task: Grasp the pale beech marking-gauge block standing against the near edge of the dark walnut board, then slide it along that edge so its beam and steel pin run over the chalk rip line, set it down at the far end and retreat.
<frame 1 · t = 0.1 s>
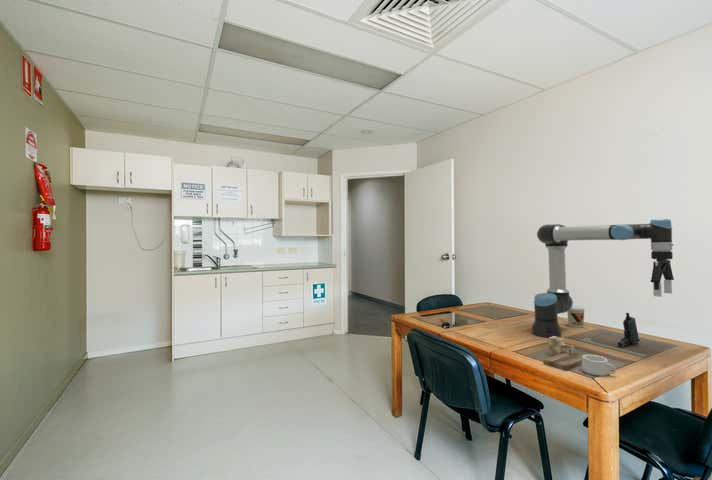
hand: (662, 294, 159), 28 cm above the table, fingers open, 13 cm apart
mug: (598, 373, 139), on the table
board: (566, 362, 151), on the table
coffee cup: (576, 326, 208), on the table
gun: (628, 345, 171), on the table
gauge: (557, 354, 161), on the table
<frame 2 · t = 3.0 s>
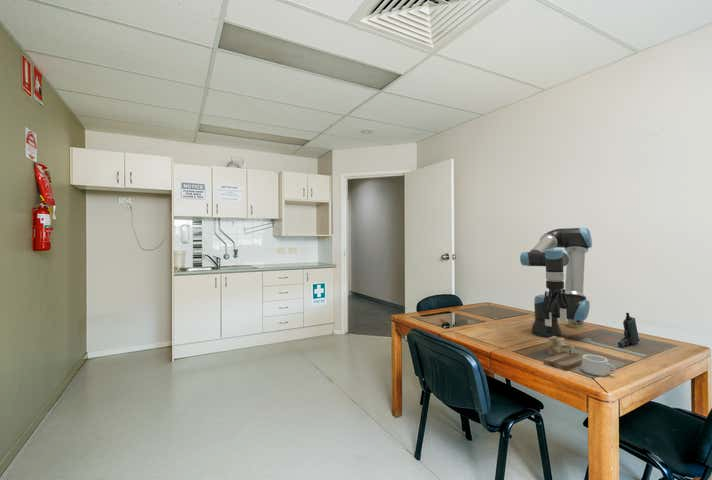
hand: (556, 323, 161), 15 cm above the table, fingers open, 13 cm apart
nothing on the table moved.
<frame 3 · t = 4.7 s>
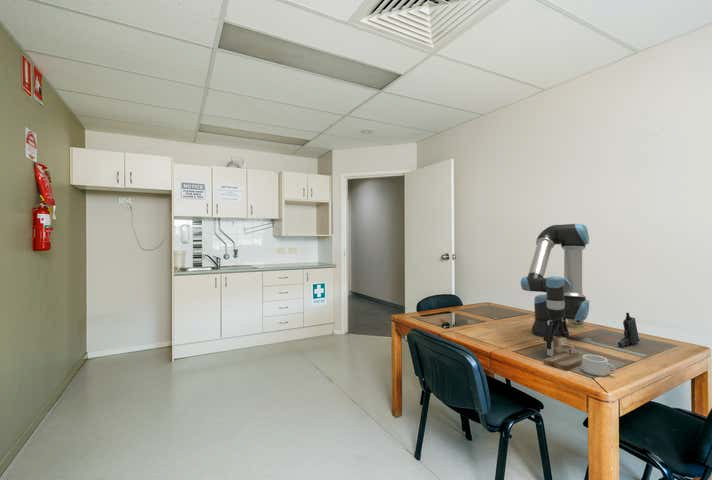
hand: (557, 352, 161), 1 cm above the table, fingers open, 11 cm apart
nothing on the table moved.
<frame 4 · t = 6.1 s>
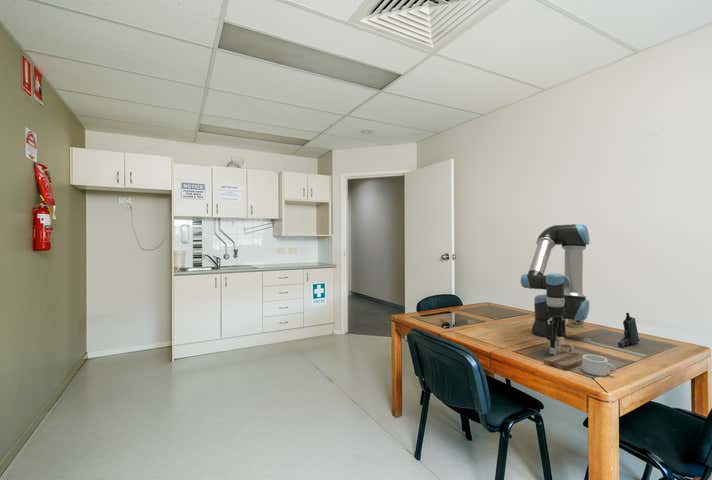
hand: (557, 352, 161), 1 cm above the table, fingers closed on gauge, 5 cm apart
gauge: (557, 353, 161), on the table, touching gripper
everything else where it was.
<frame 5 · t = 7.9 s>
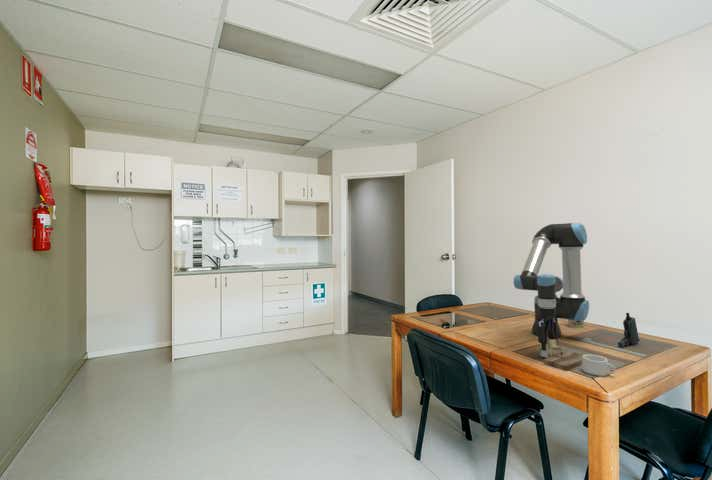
hand: (548, 355, 157), 1 cm above the table, fingers closed on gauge, 5 cm apart
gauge: (548, 356, 157), point 1 cm above the table, touching gripper
everything else where it was.
when the fingers open (0 cm above the table, at t = 9.7 s): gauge stays where it is, on the table.
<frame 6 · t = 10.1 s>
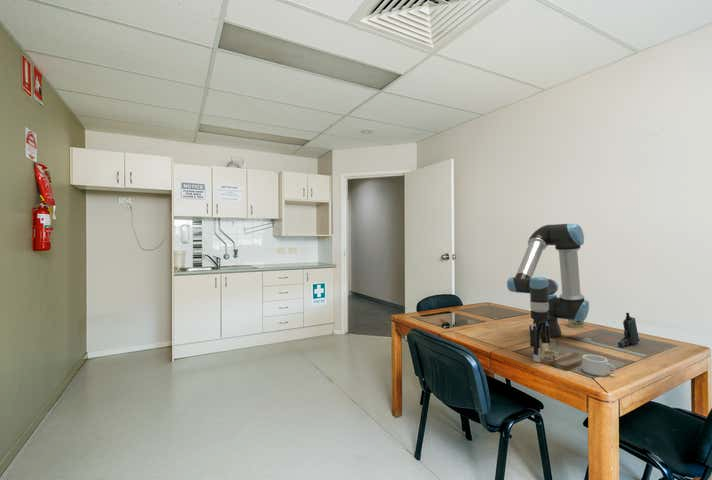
hand: (540, 360, 154), 0 cm above the table, fingers open, 5 cm apart
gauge: (540, 360, 154), on the table, touching gripper
everything else where it was.
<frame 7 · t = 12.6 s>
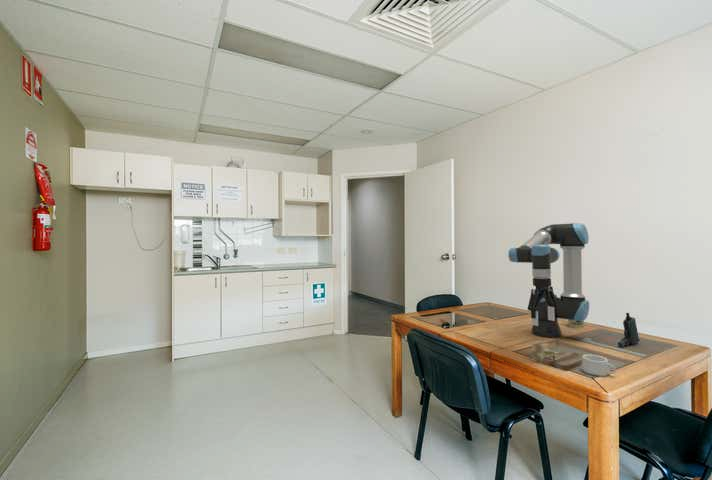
hand: (543, 322, 154), 17 cm above the table, fingers open, 13 cm apart
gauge: (540, 360, 154), on the table
everything else where it was.
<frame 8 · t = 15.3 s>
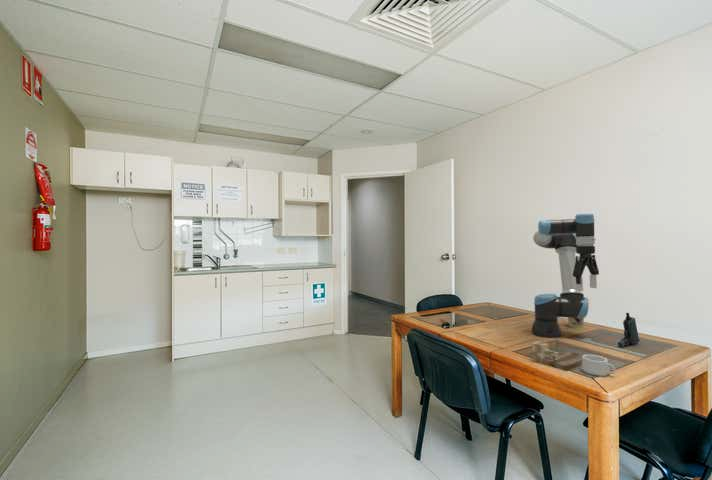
hand: (586, 289, 159), 32 cm above the table, fingers open, 13 cm apart
nothing on the table moved.
at the end: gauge 0.5 cm from the target spot on the table beside the board, on the table; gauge tilted 0°; the gripper is holding nothing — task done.
